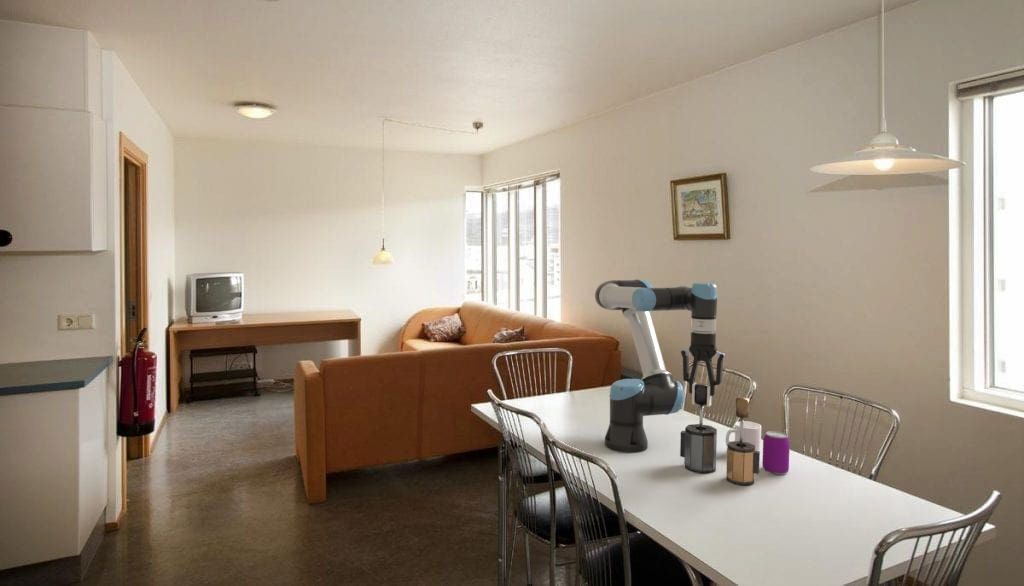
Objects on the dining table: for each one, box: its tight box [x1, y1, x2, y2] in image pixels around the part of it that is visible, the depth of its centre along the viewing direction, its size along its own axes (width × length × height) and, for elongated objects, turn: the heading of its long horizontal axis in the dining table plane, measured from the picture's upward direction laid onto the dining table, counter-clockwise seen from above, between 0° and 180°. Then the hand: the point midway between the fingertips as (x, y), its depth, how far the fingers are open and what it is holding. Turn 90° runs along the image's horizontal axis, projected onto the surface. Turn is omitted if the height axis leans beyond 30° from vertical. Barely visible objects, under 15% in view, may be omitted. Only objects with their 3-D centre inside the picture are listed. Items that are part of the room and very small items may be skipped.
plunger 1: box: [695, 382, 709, 430], centre depth 190 cm, size 7×7×18 cm
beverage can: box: [761, 430, 791, 476], centre depth 188 cm, size 8×8×12 cm
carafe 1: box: [679, 423, 718, 475], centre depth 191 cm, size 11×10×13 cm
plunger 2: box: [735, 396, 750, 447], centre depth 180 cm, size 5×5×18 cm
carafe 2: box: [725, 440, 761, 487], centre depth 180 cm, size 9×8×11 cm
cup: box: [725, 420, 762, 453], centre depth 204 cm, size 8×12×10 cm
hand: (701, 404), depth 190 cm, fingers closed on plunger 1, 4 cm apart
